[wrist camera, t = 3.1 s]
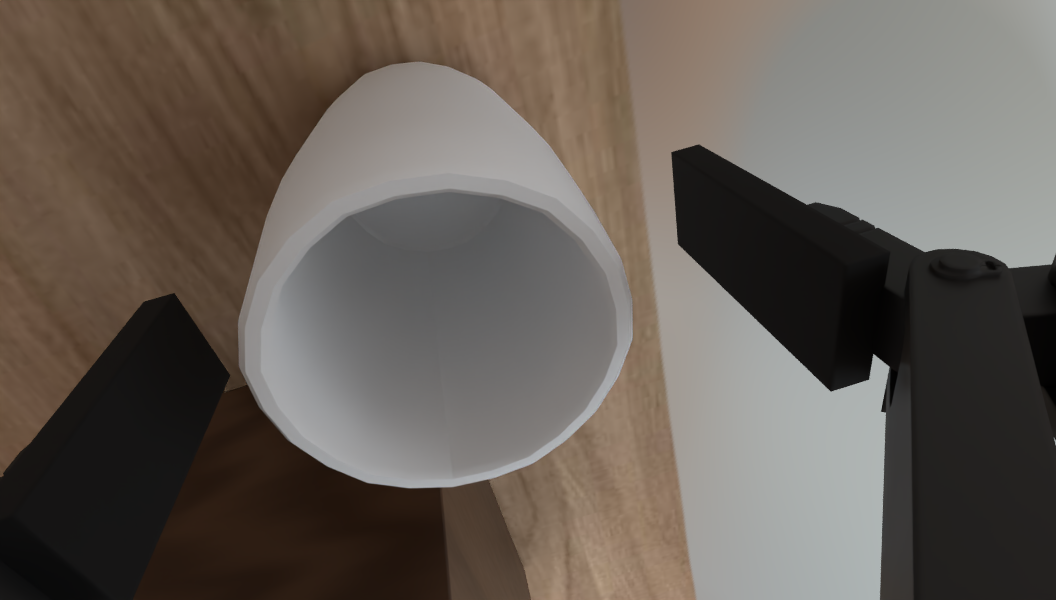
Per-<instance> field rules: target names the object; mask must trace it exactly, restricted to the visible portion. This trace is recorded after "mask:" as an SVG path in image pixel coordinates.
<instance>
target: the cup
mask: <svg viewBox="0 0 1056 600" xmlns="http://www.w3.org/2000/svg"><path fill="white" fill-rule="evenodd" d="M632 339H633V328H632V297H631V293H630V289H629V286H628V282H627V278H626V274H625V271H624V267H623V263H622V260H621V258H620V256H619V254H618V252H617V251H616V249H615V247H614V245H613V244H612V242H611V240H610V238H609V236H608V235H607V233H606V231H605V229H604V228H603V226H602V224H601V222H600V221H599V219H598V217H597V215H596V213H595V212H594V210H593V209H592V207H591V205H590V204H589V202H588V201H587V199H586V198H585V196H584V195H583V193H582V192H581V190H580V189H579V187H578V186H577V184H576V183H575V181H574V180H573V178H572V177H571V175H570V174H569V172H568V171H567V170H566V168H565V167H564V165H563V164H562V163H561V161H560V160H559V158H558V157H557V156H556V154H555V153H554V151H553V150H552V149H551V147H550V146H549V145H548V143H547V142H546V141H545V140H544V139H543V138H542V137H541V136H540V135H539V134H538V133H537V132H536V131H535V130H534V129H533V127H532V126H530V125H529V124H528V123H527V122H526V121H525V120H524V119H523V118H522V117H521V116H520V115H519V114H518V113H517V112H516V111H515V110H513V109H512V108H511V107H510V106H509V105H508V104H507V103H506V102H505V101H504V100H503V99H502V98H501V97H500V96H499V95H497V94H496V93H495V92H494V91H493V90H492V89H491V88H489V87H488V86H486V85H485V84H484V83H482V82H481V81H479V80H477V79H475V78H473V77H471V76H469V75H466V74H464V73H462V72H460V71H457V70H455V69H453V68H450V67H448V66H442V65H437V64H431V63H426V62H420V61H419V62H410V63H400V64H391V65H388V66H386V67H383V68H380V69H377V70H374V71H372V72H369V73H366V74H364V75H363V76H362V77H360V78H359V79H358V80H357V81H356V82H355V83H354V84H353V85H351V86H350V87H349V88H348V89H347V90H346V91H345V92H344V93H342V94H341V95H340V96H339V97H338V98H337V99H336V100H335V101H334V102H333V104H332V105H331V106H330V107H329V108H328V109H327V111H326V112H325V113H324V115H323V116H322V118H321V119H320V121H319V122H318V123H317V125H316V126H315V128H314V129H313V131H312V132H311V134H310V135H309V137H308V138H307V140H306V141H305V143H304V144H303V146H302V147H301V149H300V150H299V152H298V153H297V155H296V156H295V158H294V159H293V161H292V163H291V165H290V166H289V168H288V170H287V171H286V173H285V175H284V176H283V178H282V180H281V182H280V185H279V187H278V190H277V192H276V195H275V197H274V200H273V202H272V204H271V207H270V209H269V212H268V214H267V217H266V220H265V224H264V228H263V231H262V235H261V239H260V242H259V246H258V250H257V253H256V257H255V261H254V264H253V268H252V272H251V275H250V279H249V283H248V286H247V290H246V294H245V297H244V301H243V305H242V308H241V312H240V316H239V319H238V346H239V368H240V370H241V372H242V374H243V376H244V378H245V380H246V382H247V384H248V386H249V388H250V390H251V392H252V394H253V396H254V398H255V400H256V402H257V404H258V406H259V408H260V409H261V410H262V411H263V412H264V413H265V415H266V416H267V417H268V418H269V419H270V420H271V422H272V423H273V424H274V425H275V426H276V427H277V429H278V430H279V431H280V432H281V433H282V434H283V435H284V437H285V438H286V439H287V440H288V441H290V442H291V443H293V444H294V445H296V446H297V447H299V448H300V449H302V450H303V451H305V452H306V453H308V454H309V455H311V456H312V457H314V458H315V459H317V460H318V461H320V462H321V463H323V464H324V465H326V466H328V467H330V468H332V469H335V470H337V471H340V472H342V473H344V474H347V475H349V476H352V477H354V478H357V479H359V480H361V481H364V482H366V483H372V484H380V485H388V486H396V487H404V488H435V487H455V486H460V485H464V484H469V483H474V482H478V481H483V480H487V479H492V478H496V477H498V476H501V475H504V474H506V473H509V472H512V471H514V470H517V469H520V468H522V467H525V466H528V465H530V464H533V463H534V462H536V461H537V460H539V459H540V458H542V457H543V456H545V455H546V454H547V453H549V452H550V451H552V450H553V449H555V448H556V447H558V446H559V445H560V444H562V443H563V442H565V441H566V440H567V439H568V438H569V437H570V436H571V435H572V434H573V433H574V432H575V431H576V430H578V429H579V428H580V427H581V426H582V425H583V424H584V423H585V422H586V421H587V420H588V419H589V418H590V417H591V416H592V415H593V414H594V413H595V412H596V411H597V409H598V408H599V406H600V404H601V403H602V401H603V400H604V398H605V397H606V395H607V393H608V392H609V390H610V389H611V387H612V386H613V384H614V383H615V381H616V379H617V378H618V376H619V374H620V371H621V368H622V366H623V363H624V360H625V358H626V355H627V353H628V350H629V347H630V345H631V342H632Z"/></svg>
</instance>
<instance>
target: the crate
mask: <svg viewBox="0 0 1056 600" xmlns="http://www.w3.org/2000/svg"><path fill="white" fill-rule="evenodd" d="M133 600H531V597H530V593H529V588H528V583H527V579H526V574H525V570H524V568H523V565H522V563H521V560H520V558H519V555H518V553H517V550H516V548H515V545H514V543H513V540H512V538H511V535H510V533H509V531H508V528H507V526H506V523H505V521H504V518H503V516H502V513H501V511H500V508H499V506H498V503H497V501H496V498H495V496H494V493H493V491H492V488H491V486H490V483H489V481H488V479H487V480H483V481H478V482H474V483H469V484H464V485H460V486H455V487H435V488H404V487H396V486H388V485H380V484H372V483H366V482H364V481H361V480H359V479H357V478H354V477H352V476H349V475H347V474H344V473H342V472H340V471H337V470H335V469H332V468H330V467H328V466H326V465H324V464H323V463H321V462H320V461H318V460H317V459H315V458H314V457H312V456H311V455H309V454H308V453H306V452H305V451H303V450H302V449H300V448H299V447H297V446H296V445H294V444H293V443H291V442H290V441H288V440H287V439H286V438H285V437H284V435H283V434H282V433H281V432H280V431H279V430H278V429H277V427H276V426H275V425H274V424H273V423H272V422H271V420H270V419H269V418H268V417H267V416H266V415H265V413H264V412H263V411H262V410H261V409H260V408H259V406H258V404H257V402H256V400H255V398H254V396H253V394H252V392H251V390H250V388H249V386H245V387H242V388H239V389H236V390H232V391H229V392H226V393H223V394H222V396H221V398H220V400H219V403H218V405H217V407H216V409H215V412H214V414H213V416H212V419H211V421H210V423H209V425H208V428H207V430H206V432H205V435H204V437H203V439H202V442H201V444H200V446H199V448H198V451H197V453H196V455H195V458H194V460H193V462H192V465H191V467H190V469H189V471H188V474H187V476H186V478H185V481H184V483H183V485H182V487H181V490H180V492H179V494H178V497H177V499H176V501H175V504H174V506H173V508H172V510H171V513H170V515H169V517H168V520H167V522H166V524H165V527H164V529H163V531H162V533H161V536H160V538H159V540H158V543H157V545H156V547H155V549H154V552H153V554H152V556H151V559H150V561H149V563H148V566H147V568H146V570H145V572H144V575H143V577H142V579H141V582H140V584H139V586H138V588H137V591H136V593H135V595H134V598H133Z"/></svg>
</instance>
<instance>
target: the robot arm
mask: <svg viewBox="0 0 1056 600" xmlns="http://www.w3.org/2000/svg"><path fill="white" fill-rule="evenodd" d="M672 168H673V180H674V181H673V182H674V194H675V207H676V208H675V209H676V223H677V237H678V244H679V246H681V247H682V248H683V249H684V250H685V251H686V252H687V253H688V254H689V255H690V256H691V257H692V258H693V259H694V260H695V261H696V262H697V263H698V264H699V265H700V266H701V267H702V268H703V269H704V270H705V271H706V272H708V274H710V275H711V276H712V277H713V278H714V279H715V280H716V281H717V282H718V283H719V284H720V285H721V286H722V287H723V288H724V289H725V290H726V291H727V292H728V293H729V294H730V295H731V296H732V297H733V298H734V299H735V300H737V301H738V302H739V303H740V304H741V305H742V306H743V307H744V308H745V309H746V310H747V311H748V312H749V313H750V314H751V315H752V316H753V317H754V318H755V319H756V320H757V321H758V322H759V323H760V324H761V325H763V327H765V328H766V329H767V330H768V331H769V332H770V333H771V334H772V335H773V336H774V337H775V338H776V339H777V340H778V341H779V342H780V343H781V344H782V345H783V346H784V347H785V348H786V349H787V350H788V351H789V352H791V353H792V354H793V355H794V356H795V357H796V358H797V359H798V360H799V361H800V362H801V363H802V364H803V365H804V366H805V367H806V368H807V369H808V370H809V371H810V372H811V373H812V374H813V375H814V376H815V377H816V378H817V379H819V381H821V382H822V383H823V384H824V385H825V386H826V387H827V388H828V389H829V390H830V391H834V390H837V389H841V388H844V387H847V386H850V385H853V384H856V383H859V382H863V381H866V380H869V376H870V370H871V364H872V358H873V354H874V355H876V356H877V357H878V358H879V359H881V360H882V361H883V362H884V363H886V364H887V365H888V366H889V367H890V368H889V373H888V379H887V384H886V389H885V394H884V399H883V405H882V410H881V412H886V428H885V429H886V430H885V459H884V492H883V493H884V494H883V523H882V525H883V526H882V556H881V588H880V600H1056V445H1055V441H1054V438H1055V440H1056V255H1055V258H1054V260H1053V263H1052V265H1042V266H1030V267H1019V268H1008V267H1007V266H1006V264H1005V263H1003V262H1001V261H999V260H998V259H995V258H994V257H992V256H989V255H985V254H982V253H979V252H975V251H968V250H960V249H938V250H933V251H929V252H923V251H921V250H919V249H917V248H916V247H914V246H912V245H910V244H908V243H906V242H904V241H902V240H900V239H898V238H897V237H895V236H893V235H891V234H889V233H887V232H885V231H883V230H881V229H879V228H876V229H875V227H874V225H871V224H870V223H868V222H866V221H864V220H859V218H858V217H857V216H854V215H852V214H851V213H849V212H847V211H845V210H843V209H841V208H837V207H833V206H829V205H825V204H821V203H812V204H809V205H806V204H804V203H803V202H801V201H799V200H797V199H795V198H793V197H792V196H790V195H788V194H786V193H785V192H783V191H781V190H779V189H777V188H776V187H774V186H772V185H770V184H769V183H767V182H765V181H763V180H761V179H759V178H758V177H756V176H754V175H752V174H751V173H749V172H747V171H745V170H743V169H742V168H740V167H738V166H736V165H735V164H733V163H731V162H729V161H727V160H726V159H724V158H722V157H720V156H718V155H717V154H715V153H713V152H711V151H709V150H708V149H706V148H704V147H702V146H701V145H695V146H692V147H688V148H685V149H681V150H678V151H674V152H672ZM229 377H230V374H229V373H228V371H227V370H226V368H225V367H224V365H223V364H222V362H221V361H220V360H219V358H218V357H217V355H216V354H215V352H214V351H213V349H212V348H211V346H210V345H209V343H208V342H207V340H206V339H205V337H204V336H203V334H202V333H201V332H200V330H199V329H198V327H197V326H196V324H195V323H194V321H193V320H192V318H191V317H190V315H189V314H188V312H187V311H186V309H185V308H184V306H183V305H182V304H181V302H180V301H179V299H178V298H177V296H176V295H175V293H173V294H170V295H166V296H163V297H159V298H156V299H152V300H148V301H145V302H143V303H142V305H141V306H140V307H139V308H138V310H137V311H136V312H135V313H134V315H133V316H132V317H131V318H130V320H129V321H128V322H127V323H126V325H125V326H124V327H123V328H122V330H121V331H120V332H119V333H118V335H117V336H116V337H115V338H114V340H113V341H112V342H111V343H110V345H109V346H108V347H107V348H106V350H105V351H104V352H103V353H102V355H101V356H100V357H99V358H98V360H97V361H96V362H95V363H94V365H93V366H92V367H91V368H90V370H89V371H88V372H87V373H86V375H85V376H84V377H83V378H82V379H81V381H80V382H79V383H78V384H77V386H76V387H75V388H74V389H73V391H72V392H71V393H70V394H69V396H68V397H67V398H66V399H65V401H64V402H63V403H62V404H61V406H60V407H59V408H58V409H57V411H56V412H55V413H54V414H53V416H52V417H51V418H50V419H49V421H48V422H47V423H46V424H45V426H44V427H43V428H42V429H41V431H40V432H39V433H38V434H37V436H36V437H35V438H34V439H33V441H32V442H31V443H30V444H29V445H28V446H27V447H25V448H24V449H23V450H22V451H21V452H20V453H19V454H18V456H17V457H16V458H15V459H14V460H13V462H12V463H11V464H10V465H9V467H8V468H7V469H6V470H5V472H4V473H3V474H4V477H0V600H133V598H134V595H135V593H136V591H137V588H138V586H139V584H140V582H141V579H142V577H143V575H144V572H145V570H146V568H147V566H148V563H149V561H150V559H151V556H152V554H153V552H154V549H155V547H156V545H157V543H158V540H159V538H160V536H161V533H162V531H163V529H164V527H165V524H166V522H167V520H168V517H169V515H170V513H171V510H172V508H173V506H174V504H175V501H176V499H177V497H178V494H179V492H180V490H181V487H182V485H183V483H184V481H185V478H186V476H187V474H188V471H189V469H190V467H191V465H192V462H193V460H194V458H195V455H196V453H197V451H198V448H199V446H200V444H201V442H202V439H203V437H204V435H205V432H206V430H207V428H208V425H209V423H210V421H211V419H212V416H213V414H214V412H215V409H216V407H217V405H218V403H219V400H220V398H221V396H222V393H223V391H224V389H225V386H226V384H227V382H228V380H229Z"/></svg>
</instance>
